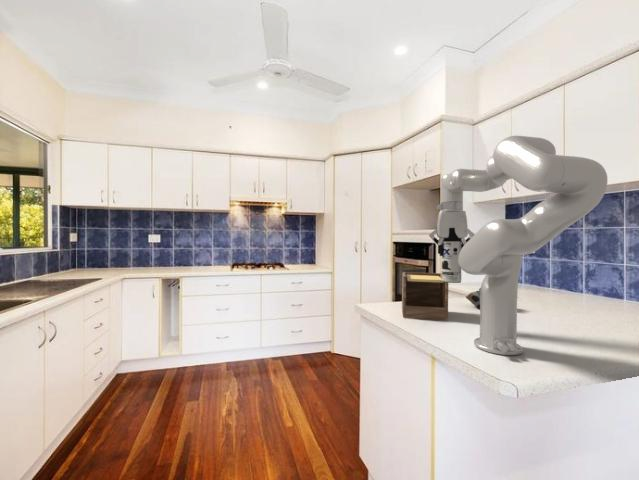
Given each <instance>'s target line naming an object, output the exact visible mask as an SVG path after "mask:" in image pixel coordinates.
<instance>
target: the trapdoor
mask: <svg viewBox="0 0 639 480" xmlns="http://www.w3.org/2000/svg"><path fill="white" fill-rule="evenodd" d="M406 278H407V281H418V282H441V283H444V282H443V281H442V278H440V277H439V276H427V275H409V274H407V275H406Z"/></svg>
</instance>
